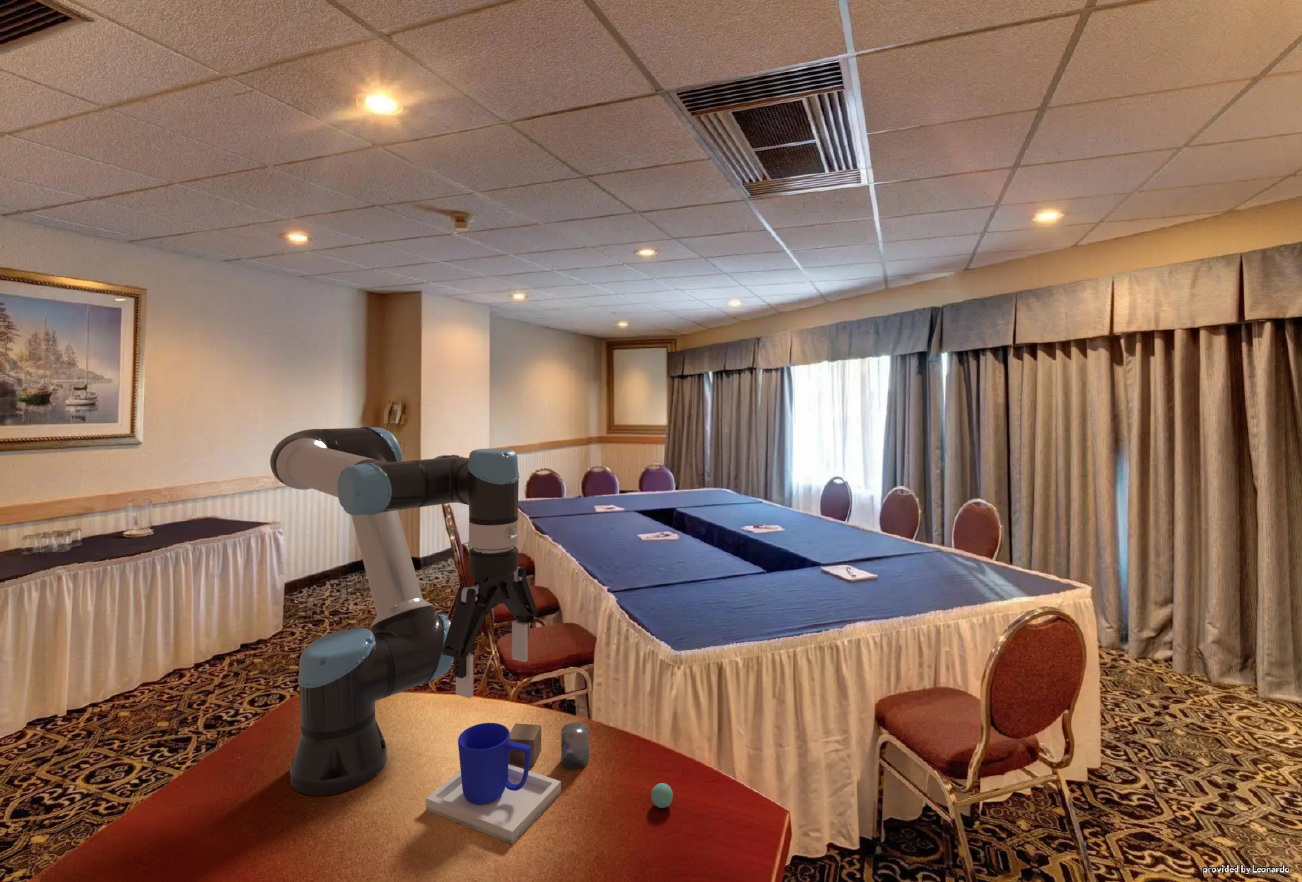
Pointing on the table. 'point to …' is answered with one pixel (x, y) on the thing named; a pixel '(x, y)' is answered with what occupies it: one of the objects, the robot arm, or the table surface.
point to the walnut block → (527, 736)
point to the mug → (488, 762)
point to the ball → (662, 795)
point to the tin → (575, 746)
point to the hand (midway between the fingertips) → (493, 676)
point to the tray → (497, 805)
